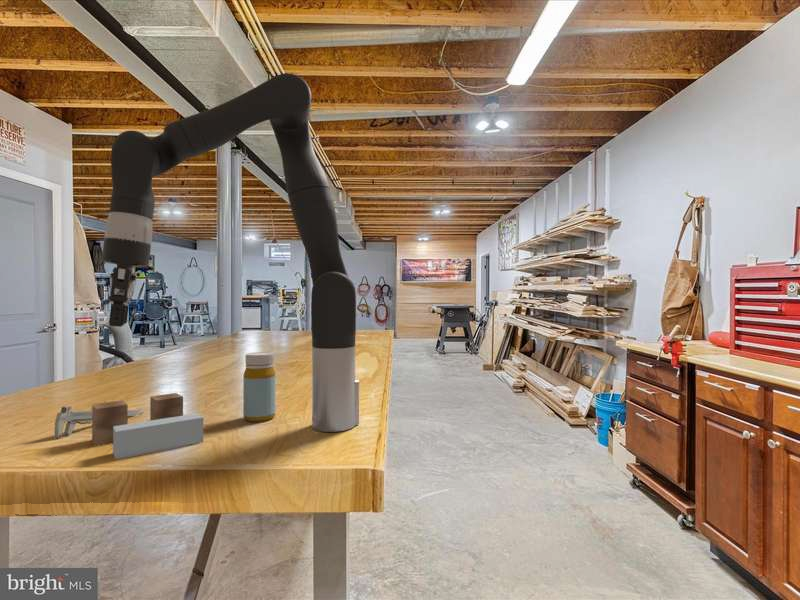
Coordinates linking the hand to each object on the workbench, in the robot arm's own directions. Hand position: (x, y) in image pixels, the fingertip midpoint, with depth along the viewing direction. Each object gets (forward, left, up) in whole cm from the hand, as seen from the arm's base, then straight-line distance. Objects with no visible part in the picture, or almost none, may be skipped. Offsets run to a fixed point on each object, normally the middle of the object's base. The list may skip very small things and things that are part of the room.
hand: (118, 325), depth 79 cm
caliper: (0, -18, -23) cm, 29 cm away
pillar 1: (+1, -5, -23) cm, 23 cm away
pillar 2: (-9, -5, -23) cm, 25 cm away
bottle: (-27, +1, -23) cm, 36 cm away
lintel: (-5, +7, -23) cm, 25 cm away
